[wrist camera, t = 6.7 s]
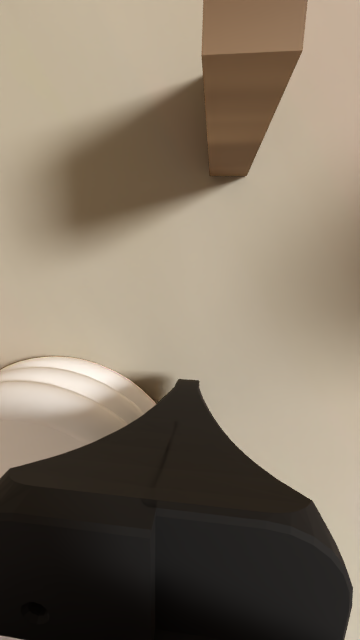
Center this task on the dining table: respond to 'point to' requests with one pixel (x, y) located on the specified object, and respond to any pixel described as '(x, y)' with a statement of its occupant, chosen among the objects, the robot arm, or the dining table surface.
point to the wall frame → (246, 74)
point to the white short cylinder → (61, 407)
